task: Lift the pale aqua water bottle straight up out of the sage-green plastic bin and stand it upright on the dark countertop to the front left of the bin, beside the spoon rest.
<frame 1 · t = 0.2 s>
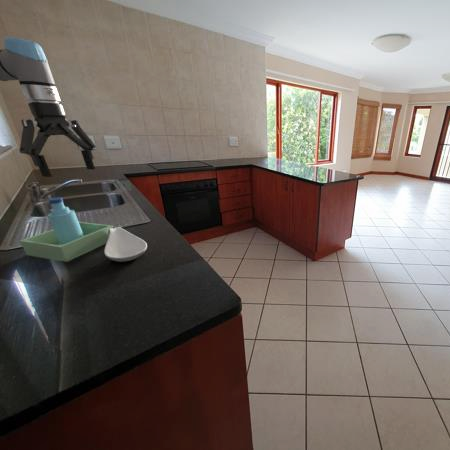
hand: (71, 172, 80), 27 cm above the counter, tool pointing down, fingers open, 13 cm apart
bottle: (74, 246, 87), point 1 cm above the counter, touching bin
bin: (75, 247, 87), on the counter
spoon rest: (124, 251, 85), on the counter, touching bin
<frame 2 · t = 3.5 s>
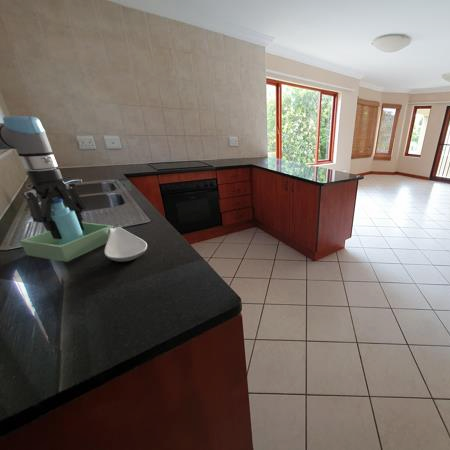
hand: (69, 233, 85), 6 cm above the counter, tool pointing down, fingers closed on bottle, 7 cm apart
bottle: (74, 246, 87), point 1 cm above the counter, touching bin, gripper
everything else where it was.
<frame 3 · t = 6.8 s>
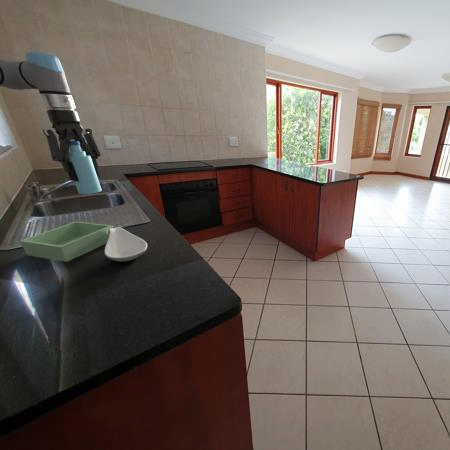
hand: (85, 178, 87), 23 cm above the counter, tool pointing down, fingers closed on bottle, 7 cm apart
bottle: (90, 191, 89), point 18 cm above the counter, touching gripper
everything else where it was.
when the fingers open (5 cm above the counter, at t = 10.2 s): bottle stays where it is, on the counter.
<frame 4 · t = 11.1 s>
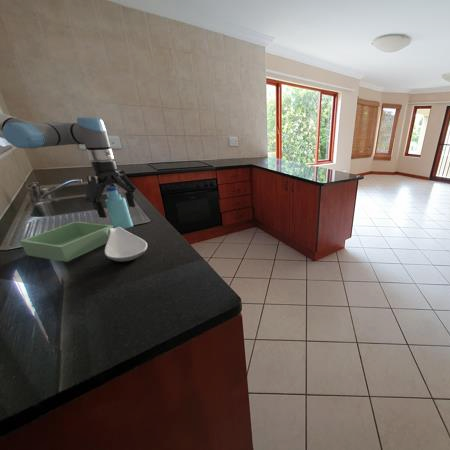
hand: (118, 211, 101), 7 cm above the counter, tool pointing down, fingers open, 13 cm apart
bottle: (123, 227, 104), on the counter
everything else where it was.
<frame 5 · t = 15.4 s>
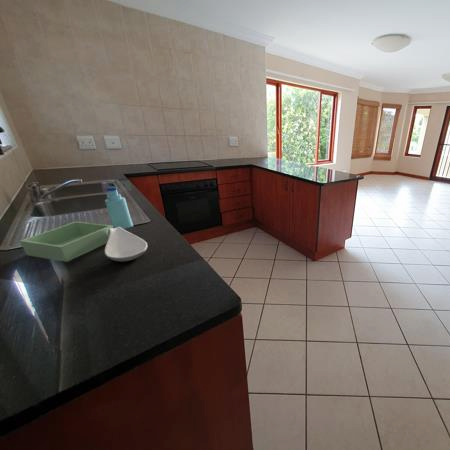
nothing on the counter moved.
at the end: bottle inside the target area (0.1 cm from its centre), on the counter; bottle tilted 0°; the gripper is holding nothing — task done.
